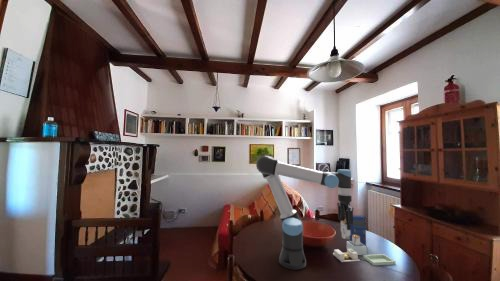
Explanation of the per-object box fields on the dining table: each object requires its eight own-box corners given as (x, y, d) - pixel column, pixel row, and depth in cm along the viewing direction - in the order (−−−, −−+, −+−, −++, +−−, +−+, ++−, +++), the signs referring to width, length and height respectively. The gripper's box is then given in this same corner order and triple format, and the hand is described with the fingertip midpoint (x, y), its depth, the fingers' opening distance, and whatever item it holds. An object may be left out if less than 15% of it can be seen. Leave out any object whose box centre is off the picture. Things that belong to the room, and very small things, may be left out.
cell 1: (344, 239, 122) (344, 221, 123) (340, 236, 126) (339, 218, 127) (351, 238, 122) (350, 220, 123) (347, 236, 127) (346, 218, 128)
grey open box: (354, 256, 126) (354, 246, 127) (346, 250, 134) (346, 241, 135) (366, 255, 127) (366, 246, 127) (358, 249, 135) (358, 240, 136)
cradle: (341, 262, 118) (341, 254, 118) (332, 254, 128) (332, 247, 128) (360, 262, 119) (359, 253, 120) (349, 254, 129) (349, 246, 129)
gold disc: (344, 259, 121) (344, 256, 122) (341, 256, 125) (341, 253, 125) (350, 259, 122) (350, 256, 122) (346, 256, 125) (346, 253, 126)
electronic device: (352, 247, 139) (352, 216, 141) (349, 243, 144) (348, 214, 146) (366, 247, 139) (366, 217, 140) (362, 244, 144) (362, 215, 145)
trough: (373, 266, 114) (373, 262, 115) (363, 258, 123) (363, 255, 123) (395, 265, 116) (395, 261, 116) (384, 257, 125) (383, 254, 125)
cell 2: (355, 253, 128) (354, 236, 129) (351, 250, 133) (350, 233, 133) (361, 253, 129) (361, 236, 130) (357, 250, 133) (357, 233, 134)
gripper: (359, 197, 118) (360, 239, 116) (342, 192, 135) (343, 228, 134) (347, 197, 117) (348, 239, 115) (331, 192, 134) (332, 228, 133)
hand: (345, 233), depth 124 cm, fingers closed on cell 1, 4 cm apart
